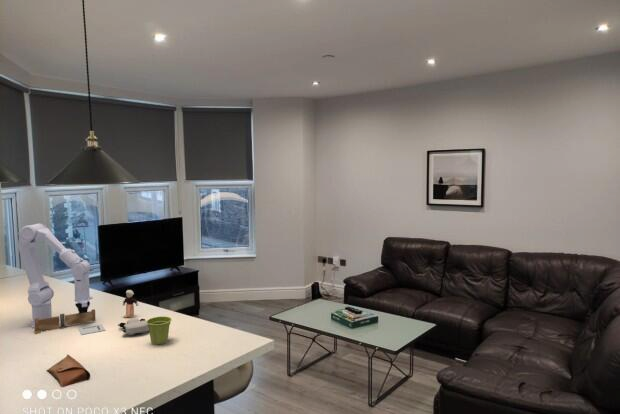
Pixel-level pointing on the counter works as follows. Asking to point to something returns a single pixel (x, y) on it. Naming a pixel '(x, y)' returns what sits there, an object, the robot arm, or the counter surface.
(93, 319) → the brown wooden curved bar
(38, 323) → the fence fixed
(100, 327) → the card
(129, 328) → the robot toy
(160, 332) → the plant pot
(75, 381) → the sunglasses case
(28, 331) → the counter surface
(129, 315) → the grandmother figurine
